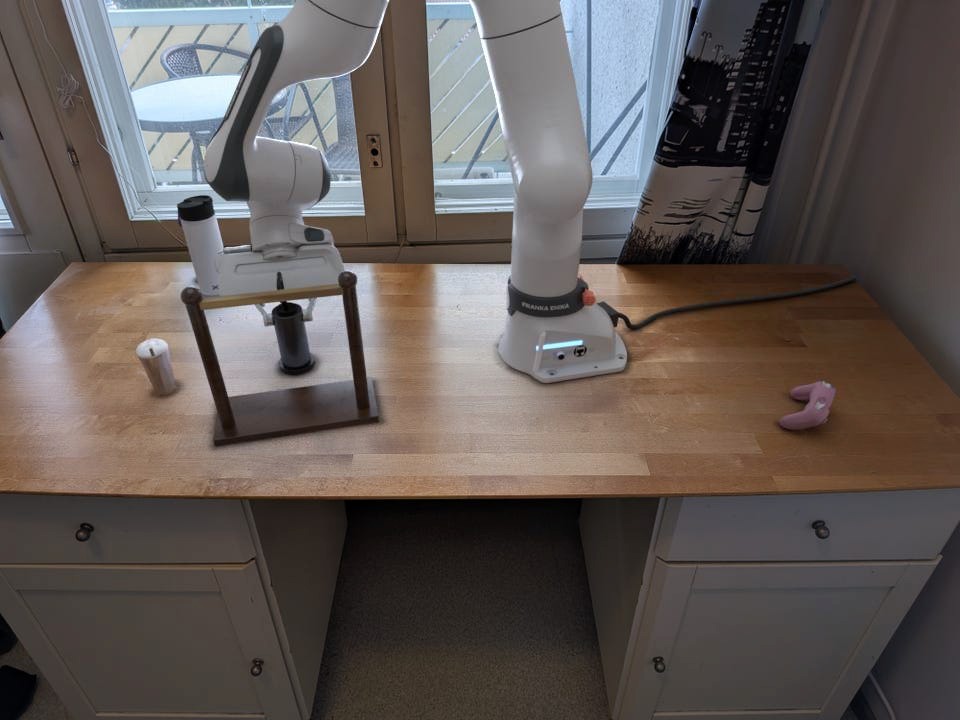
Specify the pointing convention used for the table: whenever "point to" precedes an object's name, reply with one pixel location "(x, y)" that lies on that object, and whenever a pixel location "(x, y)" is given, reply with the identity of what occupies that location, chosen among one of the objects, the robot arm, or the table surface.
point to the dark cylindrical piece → (291, 336)
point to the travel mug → (202, 241)
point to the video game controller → (810, 406)
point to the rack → (288, 406)
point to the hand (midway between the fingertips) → (289, 323)
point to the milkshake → (157, 365)
